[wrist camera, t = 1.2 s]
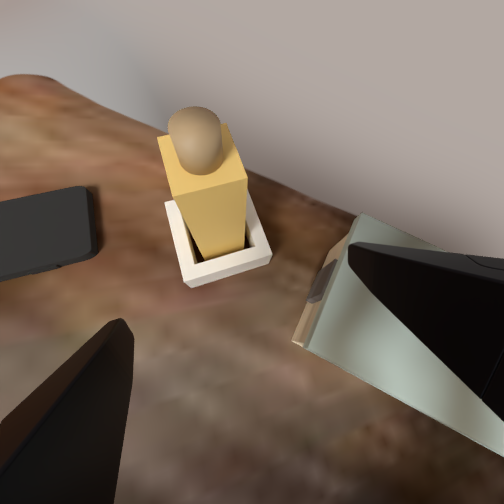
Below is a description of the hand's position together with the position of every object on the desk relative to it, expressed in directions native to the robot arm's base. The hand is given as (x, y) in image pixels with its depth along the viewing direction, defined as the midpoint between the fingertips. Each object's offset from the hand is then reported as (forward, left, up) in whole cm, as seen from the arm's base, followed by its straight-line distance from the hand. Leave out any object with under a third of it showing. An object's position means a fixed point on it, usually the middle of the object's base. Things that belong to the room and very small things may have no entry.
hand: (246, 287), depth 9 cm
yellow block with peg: (+7, -3, -13) cm, 15 cm away
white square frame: (+7, -3, -13) cm, 15 cm away
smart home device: (+22, +14, -14) cm, 29 cm away
